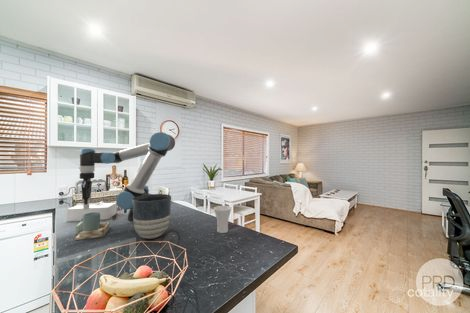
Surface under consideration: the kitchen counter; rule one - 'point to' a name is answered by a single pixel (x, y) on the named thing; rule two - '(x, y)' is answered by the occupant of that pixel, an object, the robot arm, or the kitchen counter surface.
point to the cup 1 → (91, 221)
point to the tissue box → (92, 210)
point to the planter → (151, 214)
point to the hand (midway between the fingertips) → (86, 208)
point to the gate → (79, 227)
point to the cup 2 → (222, 218)
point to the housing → (94, 232)
